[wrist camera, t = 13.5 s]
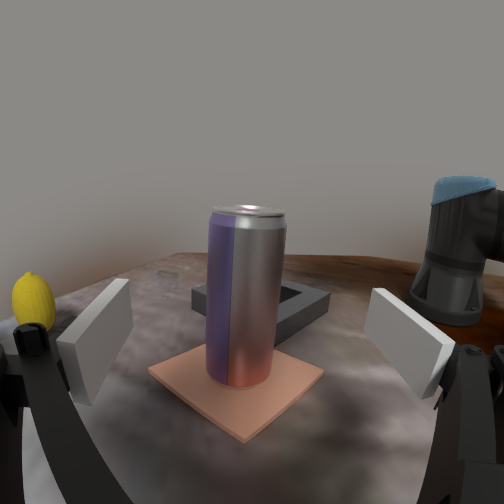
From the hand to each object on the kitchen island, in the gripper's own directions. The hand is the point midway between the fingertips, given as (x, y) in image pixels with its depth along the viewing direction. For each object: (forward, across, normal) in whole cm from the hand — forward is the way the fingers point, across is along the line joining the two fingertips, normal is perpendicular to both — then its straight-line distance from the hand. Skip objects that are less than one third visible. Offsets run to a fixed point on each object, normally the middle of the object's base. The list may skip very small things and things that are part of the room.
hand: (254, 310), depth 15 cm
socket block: (+25, +4, -11) cm, 27 cm away
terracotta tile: (+9, 0, -11) cm, 14 cm away
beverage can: (+9, 0, -11) cm, 14 cm away
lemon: (+12, -23, -12) cm, 29 cm away
